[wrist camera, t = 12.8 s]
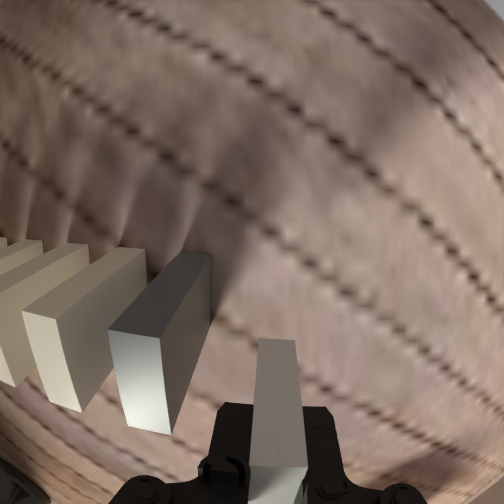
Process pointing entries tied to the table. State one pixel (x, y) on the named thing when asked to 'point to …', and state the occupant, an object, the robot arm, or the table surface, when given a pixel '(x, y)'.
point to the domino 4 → (82, 325)
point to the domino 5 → (162, 342)
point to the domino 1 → (3, 242)
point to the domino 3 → (22, 295)
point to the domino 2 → (19, 254)
